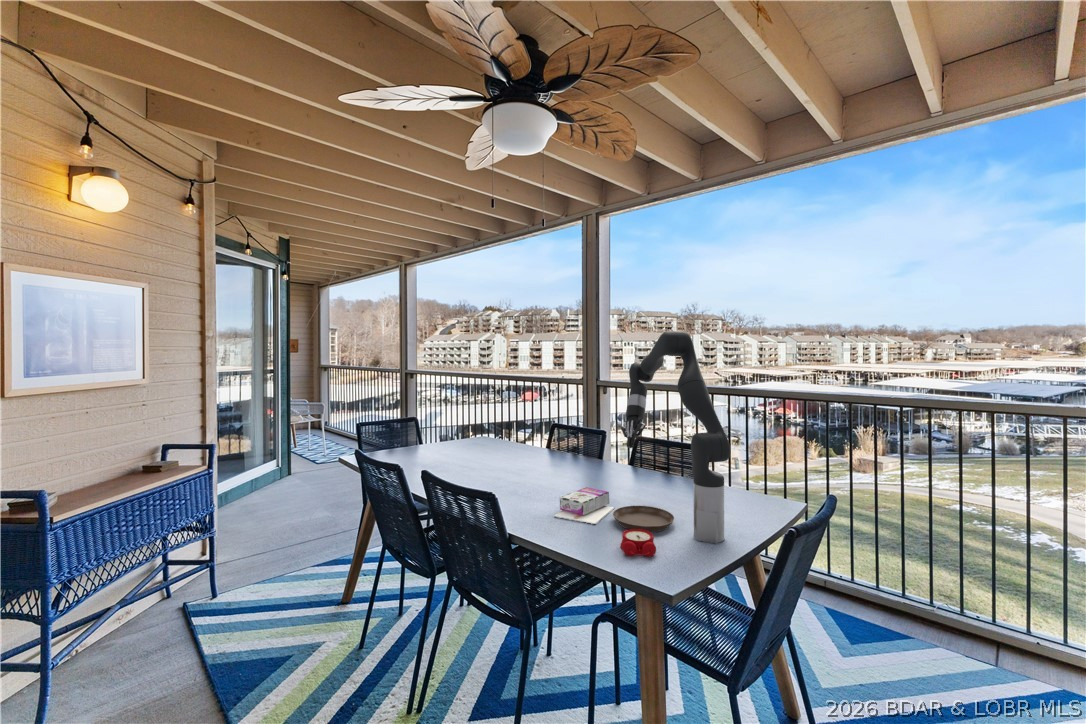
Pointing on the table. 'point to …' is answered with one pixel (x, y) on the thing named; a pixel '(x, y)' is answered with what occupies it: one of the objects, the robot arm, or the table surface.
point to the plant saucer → (643, 518)
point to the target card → (587, 515)
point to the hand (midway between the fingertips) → (630, 447)
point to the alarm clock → (638, 543)
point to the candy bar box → (584, 501)
